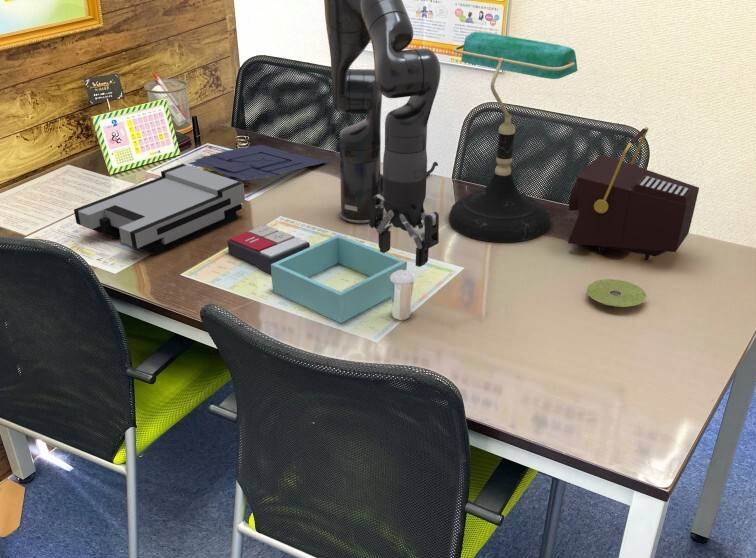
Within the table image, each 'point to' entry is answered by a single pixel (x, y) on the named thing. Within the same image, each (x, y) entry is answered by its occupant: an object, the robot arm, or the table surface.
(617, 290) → the green flat disc
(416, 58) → the robot arm
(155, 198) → the game console
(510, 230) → the banker's lamp
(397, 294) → the milkshake
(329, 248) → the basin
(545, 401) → the table surface
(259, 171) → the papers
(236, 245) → the red and gray box
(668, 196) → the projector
